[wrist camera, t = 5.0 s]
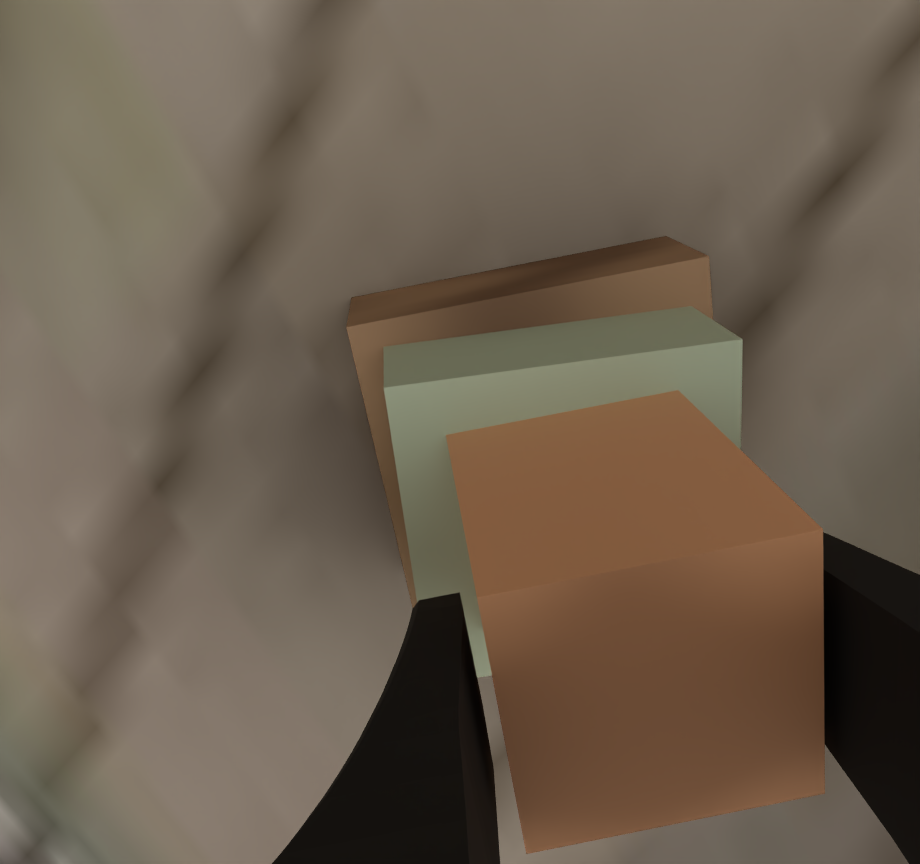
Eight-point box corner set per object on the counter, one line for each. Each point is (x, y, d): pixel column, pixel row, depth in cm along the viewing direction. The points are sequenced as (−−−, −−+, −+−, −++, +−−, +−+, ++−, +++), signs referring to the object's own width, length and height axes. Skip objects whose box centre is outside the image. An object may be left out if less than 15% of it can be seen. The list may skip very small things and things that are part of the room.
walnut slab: (660, 233, 19) (708, 256, 16) (683, 508, 21) (729, 569, 18) (352, 293, 18) (346, 327, 16) (414, 562, 21) (418, 631, 18)
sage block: (690, 305, 16) (742, 339, 14) (693, 571, 18) (738, 638, 16) (383, 346, 16) (383, 387, 14) (423, 610, 18) (430, 684, 16)
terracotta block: (678, 389, 14) (823, 529, 9) (692, 587, 16) (824, 793, 11) (445, 434, 14) (476, 597, 9) (483, 630, 15) (526, 854, 11)
